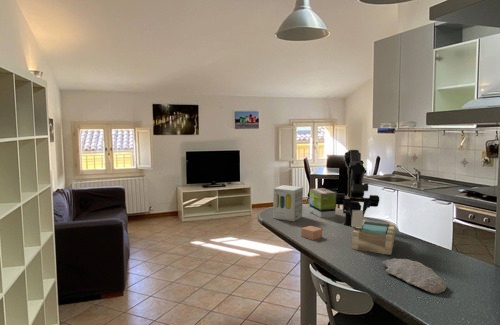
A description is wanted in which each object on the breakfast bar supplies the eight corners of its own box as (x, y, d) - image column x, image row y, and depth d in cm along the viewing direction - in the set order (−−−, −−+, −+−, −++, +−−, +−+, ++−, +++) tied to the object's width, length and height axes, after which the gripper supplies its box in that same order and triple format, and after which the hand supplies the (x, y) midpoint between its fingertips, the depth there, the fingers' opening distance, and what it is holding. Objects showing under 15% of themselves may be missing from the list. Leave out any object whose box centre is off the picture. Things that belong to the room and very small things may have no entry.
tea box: (308, 212, 218) (309, 188, 216) (323, 211, 221) (323, 187, 219) (320, 218, 203) (321, 192, 202) (335, 217, 206) (336, 192, 205)
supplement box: (272, 218, 202) (273, 188, 200) (281, 213, 213) (282, 184, 211) (294, 221, 195) (295, 190, 194) (302, 216, 207) (303, 186, 205)
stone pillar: (351, 225, 160) (351, 209, 160) (361, 225, 159) (361, 210, 159) (352, 226, 156) (352, 210, 156) (362, 227, 155) (363, 211, 155)
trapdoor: (365, 225, 169) (366, 219, 169) (388, 228, 165) (388, 222, 165) (360, 235, 153) (360, 229, 153) (385, 239, 149) (385, 232, 149)
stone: (372, 268, 134) (422, 298, 110) (372, 254, 134) (423, 282, 110) (406, 262, 139) (462, 290, 115) (407, 248, 138) (463, 274, 114)
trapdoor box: (359, 234, 174) (360, 219, 173) (394, 239, 167) (395, 223, 166) (352, 248, 153) (353, 232, 152) (391, 254, 146) (392, 237, 145)
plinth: (310, 233, 174) (310, 225, 173) (322, 237, 169) (322, 228, 168) (301, 236, 169) (301, 228, 169) (312, 240, 164) (313, 231, 164)
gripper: (336, 175, 161) (336, 205, 152) (379, 177, 157) (382, 207, 148) (335, 189, 170) (335, 218, 160) (376, 191, 166) (378, 221, 157)
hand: (357, 216), depth 156 cm, fingers closed on stone pillar, 4 cm apart
